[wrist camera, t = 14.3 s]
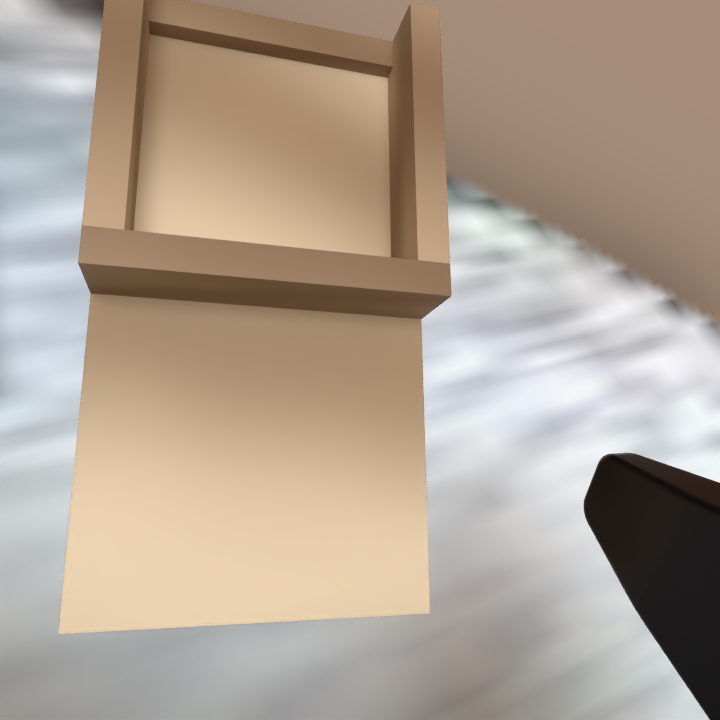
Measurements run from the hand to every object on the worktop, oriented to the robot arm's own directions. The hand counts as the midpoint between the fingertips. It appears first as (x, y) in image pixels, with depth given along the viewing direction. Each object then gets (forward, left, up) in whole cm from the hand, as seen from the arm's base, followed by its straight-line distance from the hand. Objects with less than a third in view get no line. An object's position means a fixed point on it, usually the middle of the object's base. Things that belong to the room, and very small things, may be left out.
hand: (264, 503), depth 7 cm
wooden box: (+3, -1, -11) cm, 11 cm away
